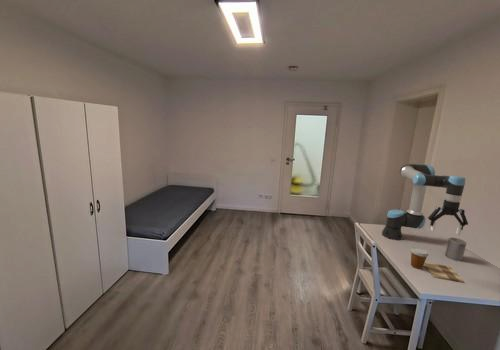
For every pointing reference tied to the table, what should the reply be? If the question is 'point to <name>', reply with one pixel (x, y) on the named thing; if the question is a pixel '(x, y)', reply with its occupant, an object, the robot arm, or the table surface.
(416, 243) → the table surface
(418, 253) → the disposable coffee cup
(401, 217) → the robot arm
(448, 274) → the subfloor panel
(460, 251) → the pillar candle
